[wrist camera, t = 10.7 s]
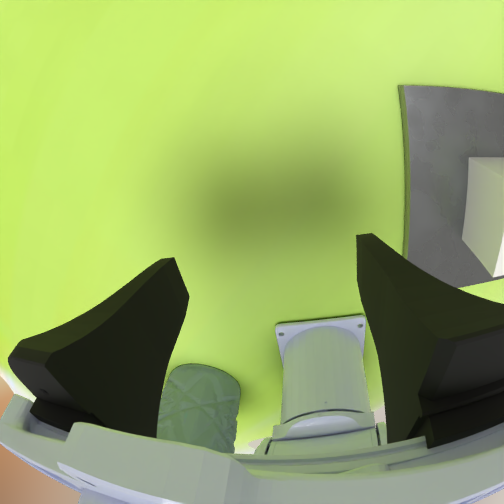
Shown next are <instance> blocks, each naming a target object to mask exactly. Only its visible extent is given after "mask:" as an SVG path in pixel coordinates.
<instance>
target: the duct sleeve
mask: <svg viewBox="0 0 504 504" xmlns="http://www.w3.org/2000/svg"><path fill="white" fill-rule="evenodd" d="M462 240H463V241H464V242H465V244H466V245H467V246H468V247H469V248H470V249H471V251H472V252H473V253H474V254H475V255H476V257H477V258H478V259H479V260H480V262H481V263H482V264H483V265H484V267H485V268H486V269H487V271H488V272H489V273H490V274H491V276H492V277H497V276H502V275H504V157H469V167H468V186H467V199H466V210H465V219H464V226H463V234H462Z"/></svg>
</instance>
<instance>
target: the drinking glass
mask: <svg viewBox="0 0 504 504" xmlns="http://www.w3.org/2000/svg"><path fill="white" fill-rule="evenodd" d="M239 400H240V387H239V384H238V382H237V381H236V380H235V379H234V378H233V377H232V376H230V375H229V374H227V373H226V372H224V371H222V370H219V369H217V368H214V367H210V366H206V365H201V364H185V365H181V366H179V367H177V368H175V369H174V370H173V371H172V373H171V374H170V376H169V379H168V381H167V383H166V386H165V388H164V390H163V392H162V398H161V401H160V407H159V416H158V425H157V439H162V440H168V441H175V442H181V443H186V444H190V445H195V446H201V447H206V448H208V449H211V450H214V451H217V452H220V453H231V454H234V451H235V448H234V441H235V439H236V432H237V421H236V417H237V414H238V409H239Z"/></svg>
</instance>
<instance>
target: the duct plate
mask: <svg viewBox="0 0 504 504" xmlns="http://www.w3.org/2000/svg"><path fill="white" fill-rule="evenodd" d="M398 89H399V96H400V105H401V114H402V125H403V138H404V156H405V228H404V247H403V257H404V258H405V259H407V260H408V261H410V262H411V263H413V264H414V265H416V266H417V267H419V268H420V269H422V270H423V271H425V272H427V273H428V274H430V275H432V276H434V277H435V278H437V279H439V280H441V281H443V282H445V283H447V284H449V285H451V286H453V287H456V288H460V287H465V286H470V285H475V284H480V283H484V282H489V281H494V280H498V279H502V278H504V275H502V276H497V277H492V276H491V274H490V273H489V272H488V271H487V269H486V268H485V267H484V265H483V264H482V263H481V262H480V260H479V259H478V258H477V257H476V255H475V254H474V253H473V252H472V251H471V249H470V248H469V247H468V246H467V245H466V244H465V242H464V241H463V240H462V234H463V226H464V219H465V210H466V199H467V186H468V167H469V157H504V94H502V93H496V92H489V91H482V90H473V89H464V88H453V87H438V86H413V85H398Z"/></svg>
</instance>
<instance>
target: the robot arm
mask: <svg viewBox="0 0 504 504" xmlns="http://www.w3.org/2000/svg"><path fill="white" fill-rule="evenodd" d="M356 243H357V282H358V287H359V292H360V297H361V302H362V305H363V308H364V311H365V314H366V317H367V320H368V323H369V326H370V330H371V333H372V336H373V339H374V342H375V346H376V350H377V354H378V359H379V365H380V371H381V377H382V385H383V393H384V402H385V414H386V424H385V423H384V422H381V423H377V424H376V428H375V420H374V413H373V412H371V409H370V402H369V395H368V388H367V382H366V376H365V370H364V364H363V351H364V340H365V328H366V319H365V316H363V315H357V316H349V317H341V318H333V319H324V320H314V321H305V322H294V323H283V324H278V325H276V326H275V333H276V337H277V342H278V346H279V351H280V355H281V360H282V364H283V369H284V373H283V392H282V409H281V424H280V425H275V426H273V437H269V438H265V439H264V440H263V441H262V442H261V444H260V445H259V446H258V447H257V449H256V450H255V453H254V454H231V453H220V452H217V451H214V450H211V449H208V448H206V447H201V446H195V445H190V444H186V443H181V442H175V441H168V440H162V439H157V425H158V416H159V407H160V401H161V395H162V389H163V384H164V379H165V375H166V370H167V366H168V363H169V360H170V357H171V354H172V351H173V349H174V346H175V343H176V341H177V338H178V335H179V333H180V330H181V327H182V324H183V322H184V319H185V315H186V311H187V307H188V301H189V294H188V291H187V289H186V286H185V284H184V281H183V279H182V276H181V274H180V271H179V269H178V266H177V263H176V261H175V258H174V257H172V258H164V259H160V260H159V261H157V262H155V263H154V264H152V265H151V266H149V267H148V268H147V269H145V270H144V271H143V272H142V273H140V274H139V275H138V276H136V277H135V278H134V279H132V280H131V281H130V282H129V283H127V284H126V285H125V286H123V287H122V288H121V289H119V290H118V291H117V292H115V293H114V294H113V295H111V296H110V297H109V298H107V299H106V300H104V301H103V302H101V303H100V304H98V305H97V306H95V307H94V308H92V309H90V310H89V311H87V312H86V313H84V314H82V315H80V316H78V317H76V318H74V319H73V320H71V321H69V322H67V323H65V324H63V325H60V326H58V327H56V328H54V329H51V330H49V331H46V332H44V333H41V334H38V335H35V336H32V337H29V338H26V339H23V340H21V341H20V342H19V343H18V344H17V346H16V347H15V348H14V350H13V351H12V353H11V354H10V356H9V357H8V363H9V366H10V368H11V369H12V371H13V373H14V374H15V375H16V376H17V377H18V379H19V380H20V381H21V382H22V383H23V384H24V385H25V386H26V387H27V388H28V389H29V390H30V391H31V392H32V394H33V395H34V396H35V397H37V398H36V400H35V402H34V403H33V402H32V401H30V400H29V399H27V398H25V397H22V396H20V395H17V394H14V395H13V397H12V399H11V401H10V402H9V404H8V406H7V408H6V410H5V411H4V413H3V415H2V417H1V419H0V444H1V445H3V446H4V447H5V448H7V449H8V450H9V451H11V452H12V453H13V454H15V455H16V456H17V457H19V458H20V459H22V460H23V461H24V462H26V463H27V464H29V465H30V466H32V467H34V468H35V469H37V470H39V471H40V472H42V473H44V474H45V475H47V476H49V477H51V478H52V479H55V480H56V481H58V482H60V483H62V484H64V485H66V486H67V487H69V488H71V489H74V490H75V491H78V492H80V493H81V496H80V499H79V502H78V504H472V503H474V502H477V501H479V500H481V499H483V498H486V497H488V496H490V495H492V494H494V493H496V492H498V491H500V490H502V489H504V304H501V303H497V302H493V301H490V300H487V299H484V298H481V297H478V296H475V295H472V294H470V293H467V292H465V291H462V290H460V289H458V288H456V287H453V286H451V285H449V284H447V283H445V282H443V281H441V280H439V279H437V278H435V277H434V276H432V275H430V274H428V273H427V272H425V271H423V270H422V269H420V268H419V267H417V266H416V265H414V264H413V263H411V262H410V261H408V260H407V259H405V258H404V257H402V256H401V255H400V254H398V253H397V252H396V251H394V250H393V249H392V248H391V247H389V246H388V245H387V244H385V243H384V242H383V241H382V240H380V239H379V238H378V237H376V236H375V235H374V234H372V233H369V234H361V235H356ZM359 324H361V325H359ZM280 332H283V333H280Z"/></svg>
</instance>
